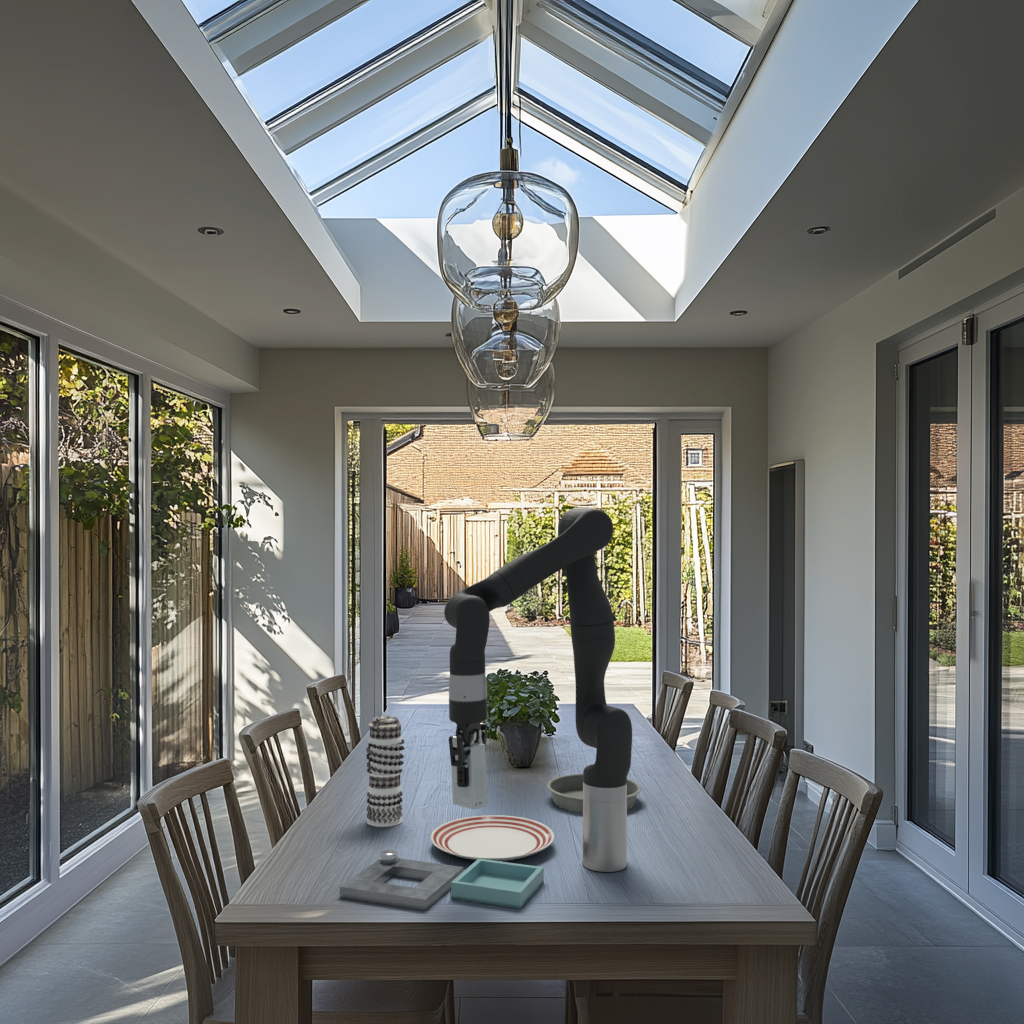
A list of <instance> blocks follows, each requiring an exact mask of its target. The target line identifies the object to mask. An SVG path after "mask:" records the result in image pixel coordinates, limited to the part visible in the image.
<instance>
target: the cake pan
mask: <svg viewBox="0 0 1024 1024" xmlns="http://www.w3.org/2000/svg"><path fill="white" fill-rule="evenodd" d="M546 787H547V789H548V791H550V792H551V793H550V794H551V797H552V801H553V803H555V804H556V806H557V807H558V806H559V808H561V809H563V808H564V809H563V810H566V809H567V811H570V810H571V811H570V812H574V811H576V812H575V813H581V812H583V773H576V774H565V775H561V776H558V777H555V778H552V779H551V780H549V781H548V782H547V784H546ZM640 792H642V787H641V785H640V784H639V783H638V782H636V781H634V780H632V779H629V778H627V809H628V810H630V809H631V807H632V808H633V807H634V806H635V803H636V799H637V796H638V794H640ZM555 804H554V805H555Z"/></svg>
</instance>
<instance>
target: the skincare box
mask: <svg viewBox="0 0 1024 1024" xmlns="http://www.w3.org/2000/svg"><path fill="white" fill-rule="evenodd" d="M468 749H470V750H471V754H470V755H469V766H468V767H469V786H467V787H459V786H458V785H457V767H455V766H451V765H450V767H451V768H450V769H451V789H452V804H453V805H455V806H459V807H462V808H466V809H471V810H478V809H481V808H484V807H487V806H488V804H489V803H488V785H487V783H488V781H487V757H486V755H487V754H486V753H487V750H486V751H485V744H481V743H474V746H472V747H469V746H468V747H465V748H464V751H467V750H468ZM464 757H465V755H464ZM455 759H456V755H455Z"/></svg>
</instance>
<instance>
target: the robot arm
mask: <svg viewBox="0 0 1024 1024" xmlns="http://www.w3.org/2000/svg"><path fill="white" fill-rule="evenodd" d="M557 530H558V531H557V534H558V535H557V537H556V538H555V537H554V539H552V540H551V541H549V542H547V543H545V544H543V545H541V546H540V547H537V548H535V549H533V550H531V551H528V552H526V553H524V554H522V555H520V556H517V557H516V558H514V559H512V560H511V561H509V562H508V563H506V564H504V565H503V566H501V567H500V568H498V569H497V570H495V571H494V572H493V573H491V574H490V575H489V576H487V577H485V579H482V580H480V581H478V582H475V583H473V584H472V585H470V586H467V587H466V588H464V589H462V590H460V591H458V592H457V593H455V594H454V595H453V596H452V597H450V599H449V600H448V601H447V602H446V604H445V606H444V610H443V612H444V619H445V621H446V622H447V624H448V625H450V626H451V627H452V628H454V629H456V630H455V642H454V644H453V645H452V646H451V647H450V649H449V680H448V716H449V717H448V718H449V721H451V722H452V723H455V724H456V729H455V735H454V736H453V735H450V736H448V747H449V756H450V767H451V766H455V767H457V785H458V786H459V787H467V786H469V767H468V766H469V755H470V754H471V750H470V749H468V750H467V751H464V748H465V747H468V746H469V747H472V746H474V743H481V744H485V751H486V752H487V737H488V724H487V723H485V721H486V720H487V719H488V683H487V676H486V653H485V651H486V646H487V641H488V637H489V636H488V635H489V630H490V622H491V621H490V616H491V615H490V612H491V611H493V610H495V609H500V608H504V607H507V606H508V605H510V604H512V603H514V602H515V601H516V600H518V599H519V598H521V597H522V596H524V595H525V594H526V593H528V592H529V591H530V590H532V589H533V588H535V587H536V586H537V585H540V583H542V582H543V581H545V580H547V579H548V578H550V577H551V576H553V575H555V574H556V573H557V572H559V571H561V570H563V569H564V572H565V578H566V589H567V599H568V601H567V602H568V609H569V610H568V611H569V623H570V627H569V628H570V636H571V645H572V651H573V653H572V654H573V666H574V677H575V678H574V679H575V729H576V734H577V736H578V738H579V740H580V741H581V742H582V743H583V744H584V745H586V746H588V747H591V748H595V749H596V751H595V752H596V753H595V762H594V763H592V764H589V765H586V766H585V767H584V769H583V772H582V774H583V813H582V865H583V867H585V868H586V869H587V870H591V871H594V872H595V871H596V872H601V873H613V872H618V871H622V870H625V868H626V867H627V859H628V858H627V852H628V851H627V848H628V847H627V846H628V842H627V841H628V839H627V838H628V833H627V832H628V823H627V822H628V817H627V816H628V810H627V779H628V775H629V772H630V769H631V764H632V751H633V726H632V721H631V718H630V716H629V714H628V713H627V712H626V711H625V710H623V709H622V708H619V707H614V706H610V705H607V700H606V692H605V690H606V689H605V677H606V672H607V669H608V667H609V664H610V661H611V659H612V657H613V653H614V650H615V645H616V632H615V619H614V614H613V610H612V606H611V604H610V603H611V602H610V601H609V599H608V596H607V594H606V591H605V590H604V587H603V585H602V583H601V581H600V578H599V575H598V571H597V570H598V569H597V562H596V553H597V552H598V551H600V550H602V549H604V548H605V547H607V545H608V544H609V543H610V541H612V538H613V535H614V522H613V521H612V518H611V517H610V516H609V515H608V513H607V512H605V511H603V510H601V509H598V508H592V507H589V508H588V507H587V508H585V507H583V508H581V507H578V508H572V509H569V510H567V511H565V512H564V513H563V514H562V516H561V518H560V520H559V522H558V529H557ZM455 755H456V759H455ZM464 755H465V757H464Z"/></svg>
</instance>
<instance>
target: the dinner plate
mask: <svg viewBox="0 0 1024 1024" xmlns="http://www.w3.org/2000/svg"><path fill="white" fill-rule="evenodd" d="M554 841H555V833H554V831H553V830H552V829H551V828H550V827H549V826H547V825H546V824H544V823H541V822H540V821H537V820H534V819H530V818H527V817H521V816H515V815H514V816H513V815H503V814H502V815H501V814H500V815H499V814H497V815H496V814H494V815H493V814H491V815H489V814H487V815H475V816H466V817H461V818H457V819H453V820H450V821H447V822H445V823H443V824H440V825H438V826H437V827H436V828H435V829H434V830H433V831H432V833H431V834H430V842H431V843H432V844H433V846H434V847H436V848H437V849H439V850H441V851H442V852H445V853H447V854H450V855H453V856H456V857H459V858H461V859H462V858H463V859H467V860H469V859H471V860H470V861H475V860H477V859H486V860H493V861H502V862H508V860H510V861H515V860H519V859H523V858H526V857H530V856H533V855H536V854H537V853H539V852H542V851H544V850H545V849H547V848H548V847H549V846H551V845H552V843H554ZM514 859H515V860H514Z"/></svg>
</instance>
